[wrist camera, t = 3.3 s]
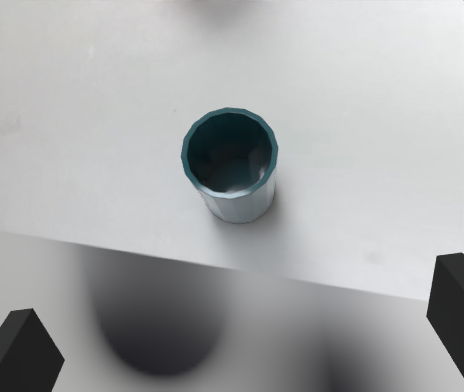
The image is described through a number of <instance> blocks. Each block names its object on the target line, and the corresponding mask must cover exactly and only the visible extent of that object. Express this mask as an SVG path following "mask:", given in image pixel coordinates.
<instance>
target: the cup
mask: <svg viewBox="0 0 464 392" xmlns="http://www.w3.org/2000/svg"><path fill="white" fill-rule="evenodd" d="M277 157H278V145H277V142H276V139H275V135H274V132H273V130H272V129H271V128H270V127H269V125H268V124H267V123H266V122H265V121H264V120H263V119H262V117H260V116H258V115H256V114H254V113H252V112H250V111H248V110H246V109H240V108H228V107H227V108H222V109H219V110H215V111H212V112H209V113H207V114H206V115H204V116H203V117H202V118H200V119H199V120H198V121H196V122H195V123H194V124H193V125H192V127H191V128H190V130H189V132H188V133H187V135H186V136H185V138H184V141H183V147H182V152H181V159H182V163H183V168H184V172H185V174H186V176H187V177H188V179H189V180H190V181H191V183H192V184H193V186H194V187H195V188H196V190H197V191H198V193H199V194H200V195H201V197H202V198H203V199H204V201H205V202H206V204H207V205H208V206H209V208H210V209H211V210H212V212H213V213H214V214H215V215H216V216H218V217H219V218H221V219H222V220H224V221H227V222H230V223H237V224H241V223H248V222H251V221H253V220H255V219H257V218H259V217H260V216H262V215H263V214H264V213H265V212H266V211H267V209H268V208H269V206H270V204H271V202H272V200H273V197H274V189H275V178H276V168H277Z"/></svg>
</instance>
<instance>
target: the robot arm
mask: <svg viewBox="0 0 464 392" xmlns="http://www.w3.org/2000/svg"><path fill="white" fill-rule="evenodd" d="M426 317H427V318H428V320H429V322H430V323H431V325H432V327H433V328H434V330H435V331H436V333H437V335H438V336H439V338H440V340H441V341H442V343H443V345H444V346H445V348H446V349H447V351H448V353H449V354H450V356H451V358H452V359H453V361H454V362H455V364H456V366H457V368H458V369H459V371H460V372H461V374H462V376H463V377H464V254H463V253H454V254H447V255H439V256H437V257H436V263H435V269H434V275H433V281H432V287H431V292H430V298H429V304H428V310H427V316H426ZM64 361H65V360H64V358H63V356H62V355H61V353H60V351H59V350H58V348H57V347H56V345H55V343H54V342H53V340H52V338H51V337H50V335H49V334H48V332H47V330H46V329H45V327H44V326H43V324H42V323H41V321H40V319H39V318H38V316H37V314H36V313H35V311H34V310H33V308H32V309H24V310H16V311H11V312H10V313H9V315H8V316H7V318H6V319H5V321H4V322H3V324H2V325H1V327H0V392H52V389H53V387H54V384H55V382H56V380H57V377H58V375H59V372H60V370H61V368H62V365H63V363H64Z"/></svg>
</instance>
